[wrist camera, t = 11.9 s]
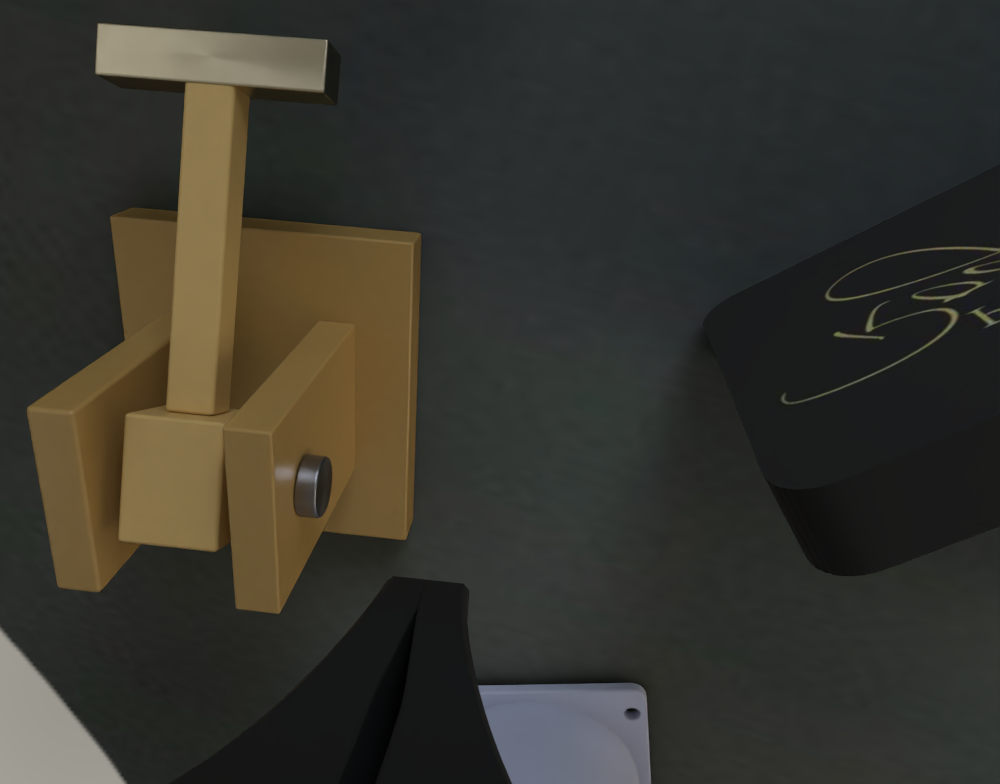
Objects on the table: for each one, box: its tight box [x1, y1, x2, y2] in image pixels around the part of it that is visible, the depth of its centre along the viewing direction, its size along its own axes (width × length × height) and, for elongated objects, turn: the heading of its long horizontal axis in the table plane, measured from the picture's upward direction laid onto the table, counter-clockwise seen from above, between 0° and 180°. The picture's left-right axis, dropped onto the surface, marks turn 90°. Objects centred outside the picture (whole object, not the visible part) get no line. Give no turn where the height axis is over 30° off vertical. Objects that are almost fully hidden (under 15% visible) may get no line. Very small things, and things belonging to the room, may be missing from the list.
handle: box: [95, 22, 341, 552], centre depth 19 cm, size 11×5×2 cm, turn 174°
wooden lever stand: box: [27, 208, 421, 614], centre depth 21 cm, size 9×8×8 cm
